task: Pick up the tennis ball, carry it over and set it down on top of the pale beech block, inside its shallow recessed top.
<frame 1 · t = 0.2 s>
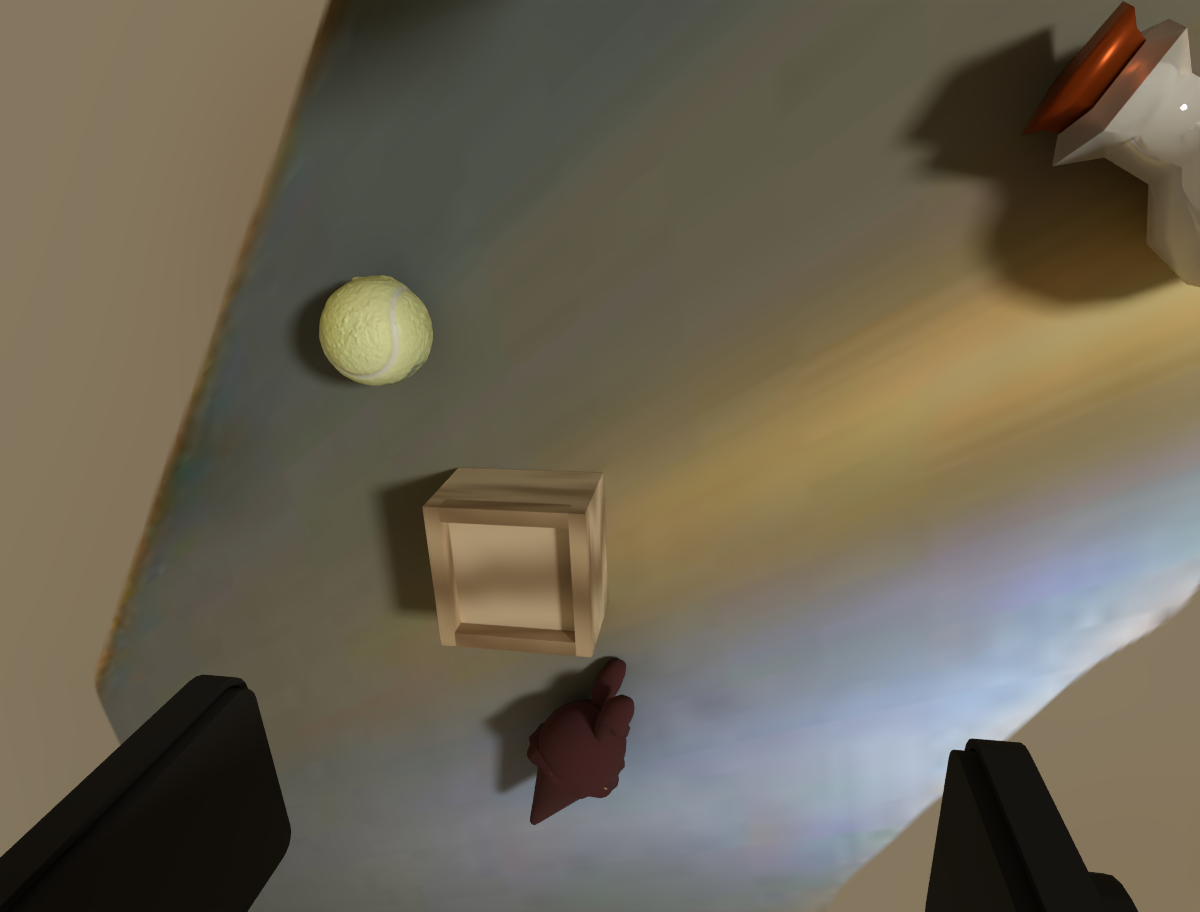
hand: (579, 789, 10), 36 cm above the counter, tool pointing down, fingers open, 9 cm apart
tennis ball: (398, 320, 47), on the counter
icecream: (587, 720, 56), on the counter
potion bottle: (1162, 159, 36), on the counter
wooden box: (534, 536, 51), on the counter
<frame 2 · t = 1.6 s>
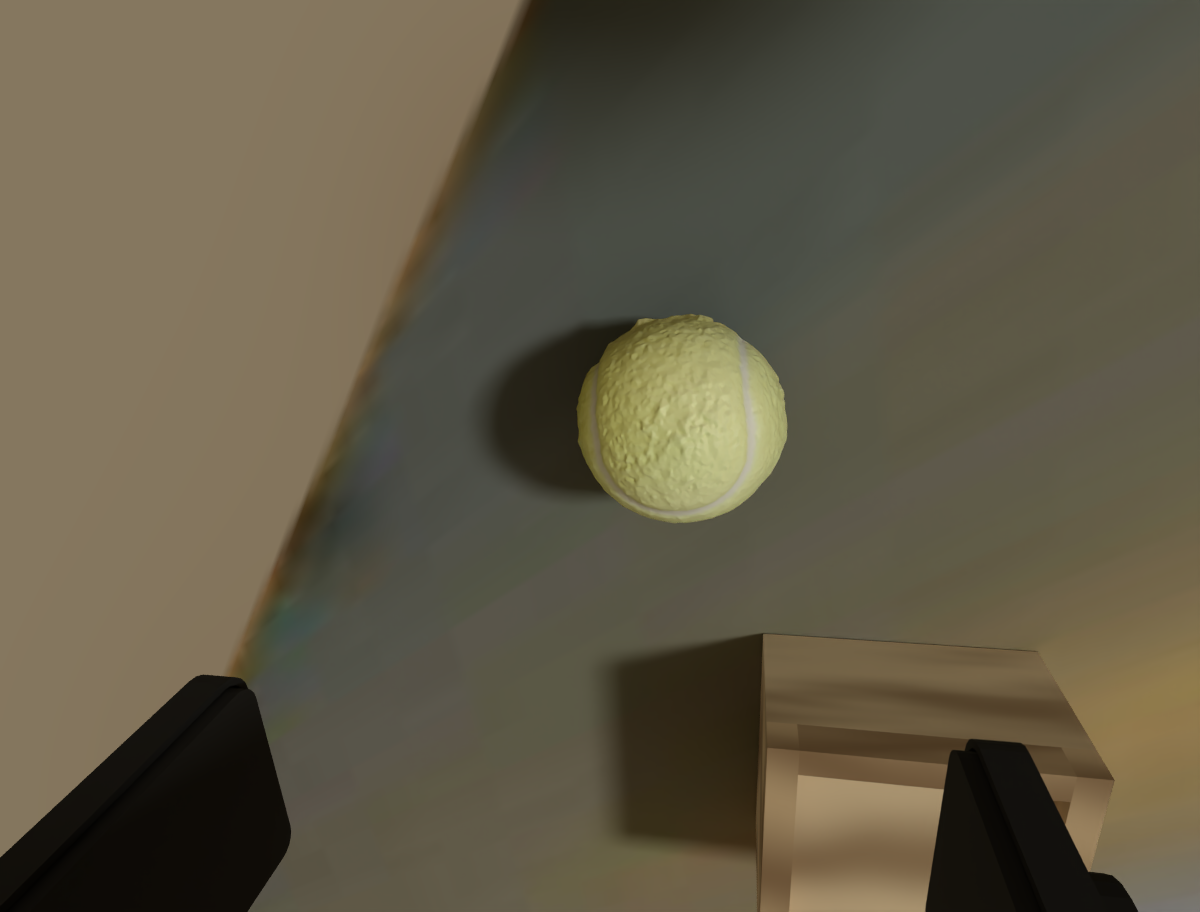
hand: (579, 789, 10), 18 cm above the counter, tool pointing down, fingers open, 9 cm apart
tennis ball: (686, 390, 26), on the counter
wooden box: (883, 744, 30), on the counter
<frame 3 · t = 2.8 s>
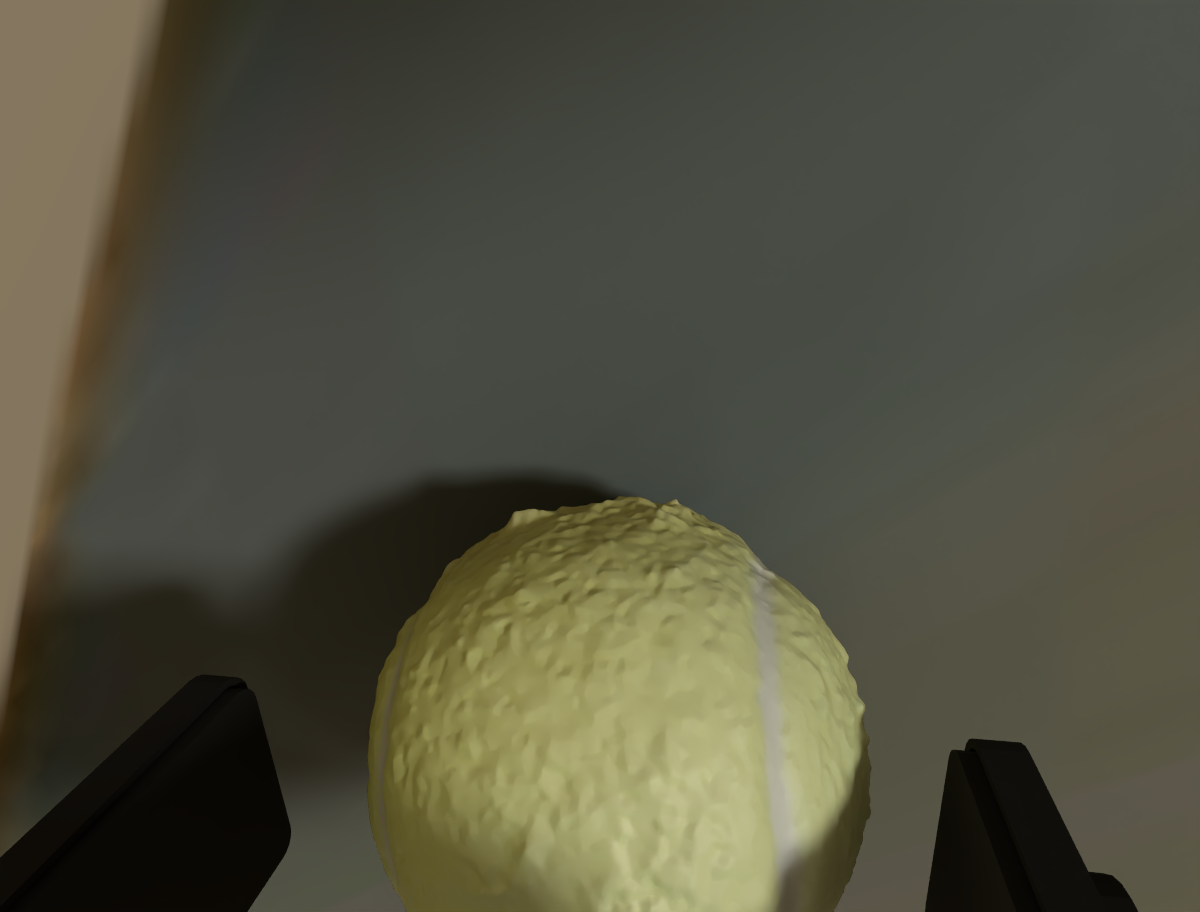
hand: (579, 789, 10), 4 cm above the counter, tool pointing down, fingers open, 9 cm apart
tennis ball: (644, 605, 13), on the counter
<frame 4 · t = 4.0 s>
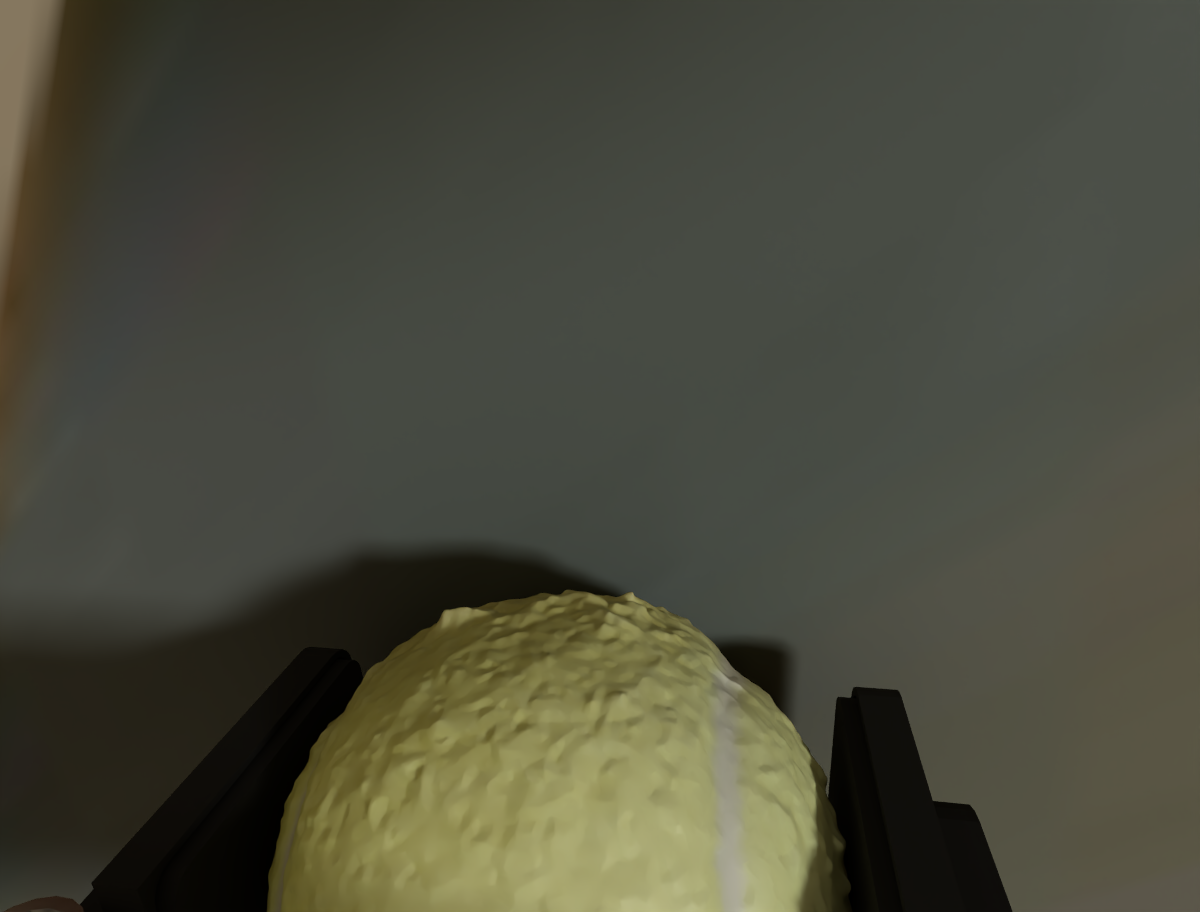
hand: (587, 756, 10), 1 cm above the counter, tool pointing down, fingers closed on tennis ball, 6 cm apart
tennis ball: (605, 690, 12), on the counter, touching gripper
when the fingers open (8 cm above the counter, at t = 9.6 s): tennis ball drops 1 cm, resting on wooden box.
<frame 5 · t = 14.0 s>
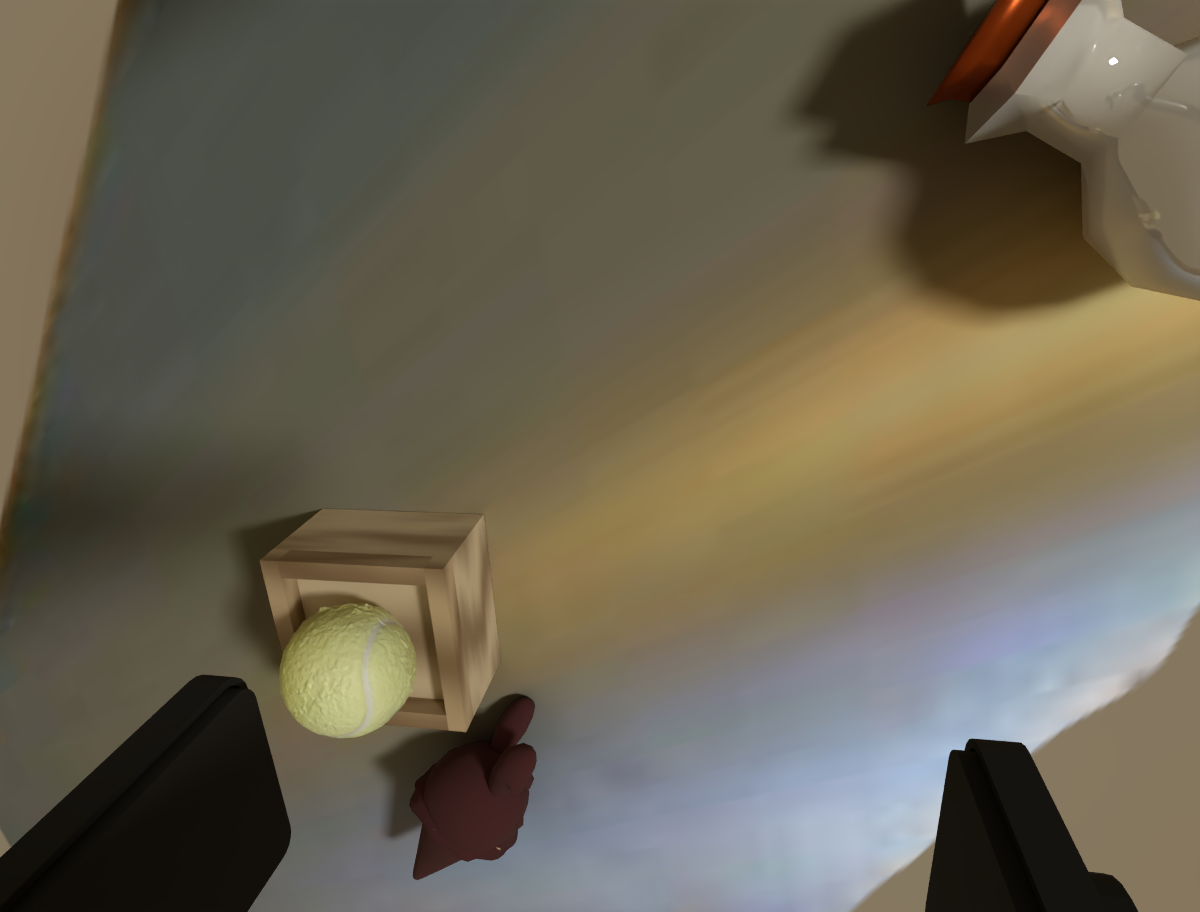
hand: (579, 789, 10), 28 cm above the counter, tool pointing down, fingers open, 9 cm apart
tennis ball: (377, 631, 40), point 5 cm above the counter, touching wooden box
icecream: (489, 762, 49), on the counter
potion bottle: (1103, 134, 30), on the counter
wooden box: (413, 586, 44), on the counter
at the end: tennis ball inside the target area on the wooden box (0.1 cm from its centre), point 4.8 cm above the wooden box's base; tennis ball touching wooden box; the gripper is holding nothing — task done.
